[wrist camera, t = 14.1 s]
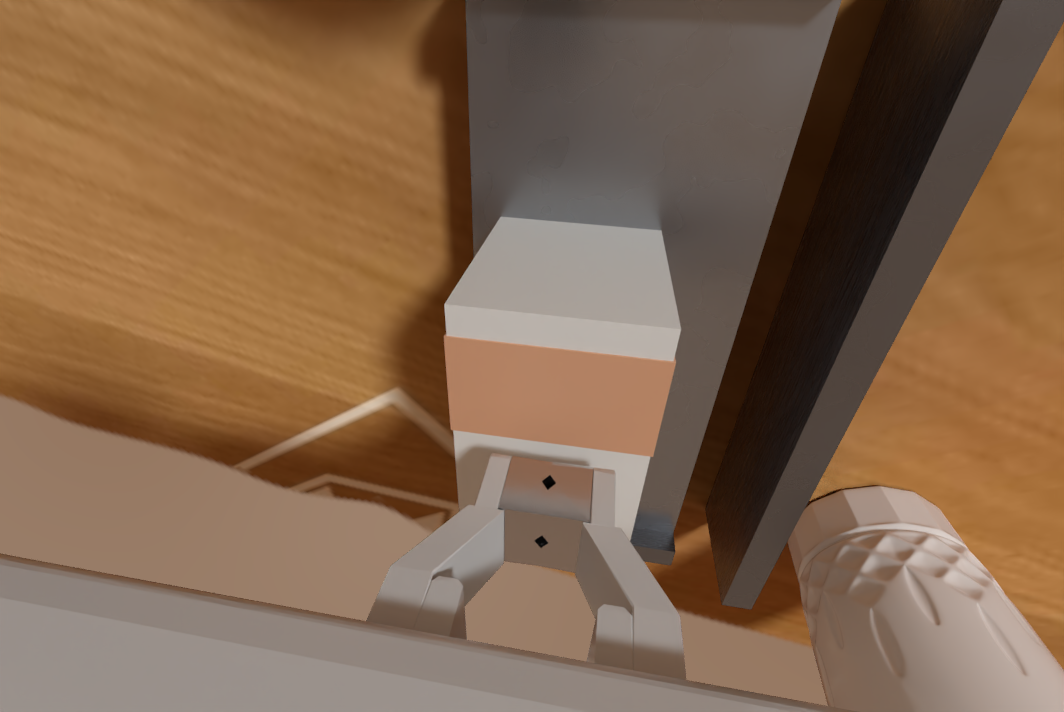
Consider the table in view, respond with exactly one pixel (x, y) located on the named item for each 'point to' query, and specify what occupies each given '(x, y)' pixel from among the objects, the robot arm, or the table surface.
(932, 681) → the white cup
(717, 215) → the dark grey tray
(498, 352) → the block
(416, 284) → the table surface
